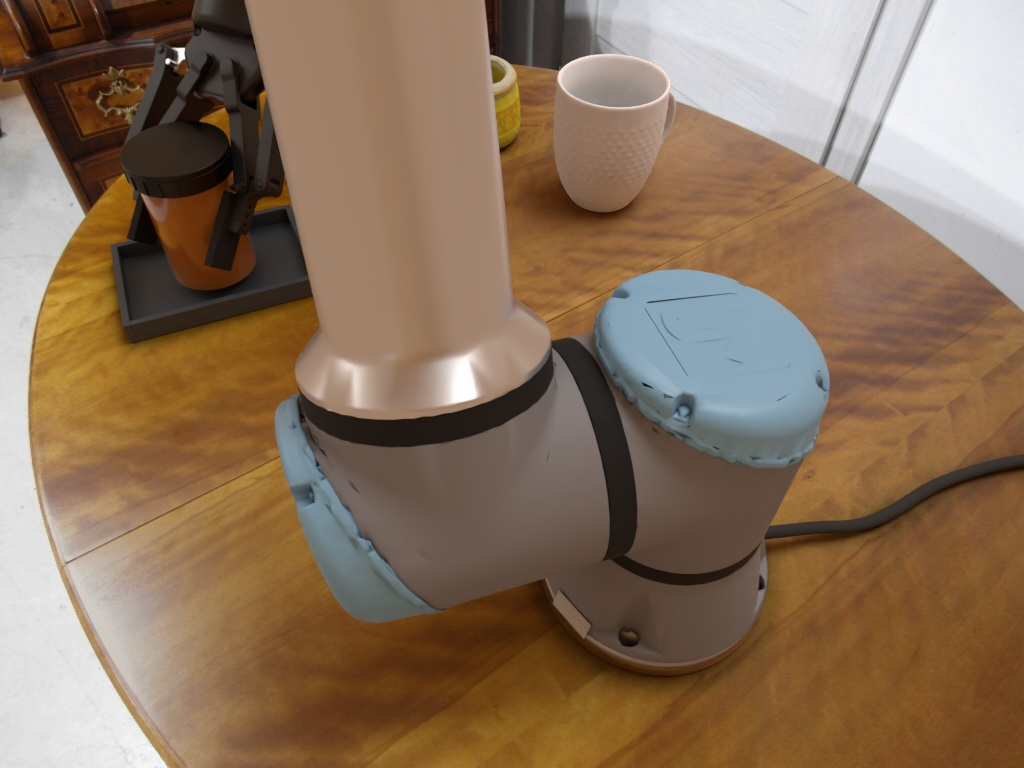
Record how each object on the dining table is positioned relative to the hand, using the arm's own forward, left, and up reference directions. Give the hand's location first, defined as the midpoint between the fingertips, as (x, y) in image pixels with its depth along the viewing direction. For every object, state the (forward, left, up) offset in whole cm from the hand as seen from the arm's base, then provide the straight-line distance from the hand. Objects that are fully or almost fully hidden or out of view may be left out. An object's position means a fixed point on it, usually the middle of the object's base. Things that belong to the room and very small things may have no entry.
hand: (179, 254), depth 68 cm
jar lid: (-3, -2, +8) cm, 9 cm away
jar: (-3, -2, -4) cm, 5 cm away
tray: (-3, -2, -5) cm, 6 cm away
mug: (-44, 0, -5) cm, 44 cm away
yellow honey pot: (-35, -17, -5) cm, 39 cm away
